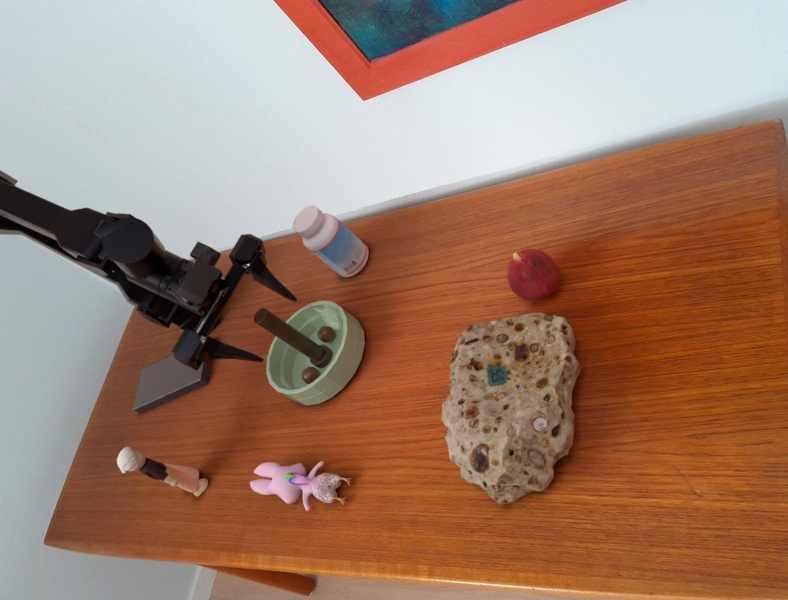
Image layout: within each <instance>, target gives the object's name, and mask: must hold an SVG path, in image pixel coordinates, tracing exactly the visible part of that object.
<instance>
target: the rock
mask: <svg viewBox="0 0 788 600" xmlns="http://www.w3.org/2000/svg"><path fill="white" fill-rule="evenodd" d="M576 344H577V341H576V335H575V333H574V330H573V327H572V326H571V324H569V323H568V321H567V319H566V318H565V317H564V316H557V315H555V314H552V315H549V314H546V313H545V312H530V313H526V314H523V315H516V316H511V317H510V316H509V317H505V318H501V319H497V320H491V321H482V322H479V323H472V324H470V325H468V326H467V327H466V328H465V329H464V330H463V331H462V332H461V334H460V335H459V337H458V339H457V341H456V342H455V348H454V350H453V352H452V354H451V357H450V361H449V373H450V374H449V377H448V378H449V384H448V391H447V395H446V398H445V400H444V401H443V402H442V404H441V421H442V423H443V425H444V426H445V428H446V429H447V431H446V435H445V436H444V439H445V440H446V444H447V451H448V458H449V461H450V462H451V465H457V466H458V468H459V470H460V478H461V479H462V480H465V481H466V482H467V483H468V484H474V485H475V486H478V487H479V488H481V489H482V490H484V491H485V492H486V493H487V495H488V496H489V497H490V498H491V499H492V500H494V501H495V502H496V503H498V504H499V505H501V506H502V505H508V504H509V505H510V504H511V503H514V502H516V501H517V500H519V499H521V498H522V497H525V496H526V495H530V494H532V493H533V492H534V491H536V492H542V491H544V490H545V489H547V488H548V487H549V485H550V484H551V483H552V481H553V479H554V475H555V470H554V466H555V465H556V462H557V461H559V460H560V459H562V458H563V457H565V456H568V454H569V453H570V449H571V448H572V447H573V445H574V436H575V413H574V411H573V410H572V404H573V391H574V387H575V386H576V381H577V378H578V377H579V375H580V373H581V369H582V366H581V365H580V362H579V360H578V359H577V358H576V355H575V349H576Z"/></svg>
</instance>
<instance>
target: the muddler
mask: <svg viewBox="0 0 788 600" xmlns="http://www.w3.org/2000/svg"><path fill="white" fill-rule="evenodd" d="M253 321H254V323H255V324H256V325H258V326H260V327H261V328H263V329H264V330H265V331H267V332H269V333H270V334H272V335H274V336H275V337H278V338H279V339H281V340H283V341H284V342H286V343H287V344H289V345H290V346H292V347H293V348H295V349H296V350H298V351H299V352H301V353H302V354H304V355H305V356H307V357H308V358H310V362H311V364H313V365H314V366H316V367H317V368H324V367H326V366H327V365H328V364H329V363H330V361H331V360H332V357H333V352H332V350H331V349H330V348H329V347H327V346H326V345H323V344H322V345H318V344H316V343H315V342H314V341H312V340H311V339H309V338H308V337H306V336H305V335H303V334H302V333H300V332H299V331H298V330H296V329H295V328H293V327H292V326H290V325H289V324H287V323H286V321H284V320H283V319H281V318H280V317H278V316H277V315H276V314H274V313H273V312H272V311H270V310H268V309H267V308H265V307H262V308H260V309H258V310H256V312H255V314H254V316H253Z"/></svg>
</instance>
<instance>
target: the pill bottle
mask: <svg viewBox="0 0 788 600" xmlns="http://www.w3.org/2000/svg"><path fill="white" fill-rule="evenodd" d="M292 230H293V232H294V233H296V234H297V236H299V237H301V238H302V243H303V246H305V248H306V249H308V250H309V251H310V252H311V253H312V254H313V255H315V257H317V258H318V259H319V260H321V261H322V262H323V263H324V264H326V266H328V267H329V268H330V269H332V270H333V271H334V272H335V273H336V274H338V275H339V276H340V277H343V278H351V277H353V276H355V275H357V274H358V273H359V272H361V271H362V270H363V269H364V268H365V266H366V264H367V262H368V259H369V254H370V253H369V247H368V246H367V245H366V244H365V242H363V241H362V240H361V239H360V238H359V237H358V236H357V235H356V234H354V233H353V232H352V231H351V230H350V229H349V228H348V227H347V226H346V225H345V224H344V223H343V222H341V220H339V219H338V218H337V217H336V216H335V215H333V214H331V213H328V212H323V211H322V210H321V209H320V208H319V207H318V206H316V205H313V204H311V205H307V206H305V207H304V208H302V209H301V210H300V211H299V212H298V213H297V215H296V216H295V218H294V219H293V222H292Z"/></svg>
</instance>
